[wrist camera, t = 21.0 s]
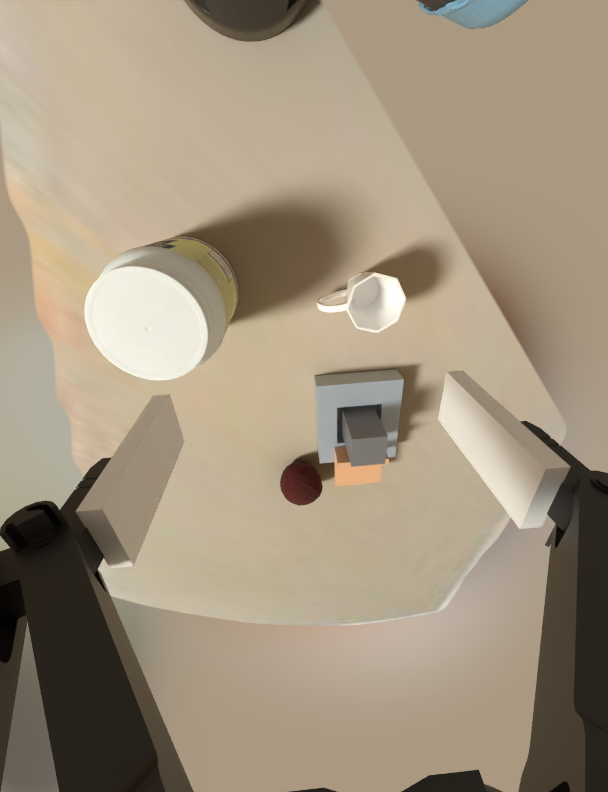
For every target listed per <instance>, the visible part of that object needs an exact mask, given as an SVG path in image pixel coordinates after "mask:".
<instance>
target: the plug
mask: <svg viewBox="0 0 608 792" xmlns="http://www.w3.org/2000/svg"><path fill="white" fill-rule="evenodd" d="M342 436H343V439H344V443H345V446H346V450H347V454H348V457H349V461H350V465H351V467H355V466H366V465H377V464H385V461H386V450H387V440H388V436H387V434H386V432H385V429H384V427H383V425H382V423H381V421H380V419H379V417H378V415H377V412H376V410H375V408H374V406H363V407H354V406H352V407H345V408H342Z"/></svg>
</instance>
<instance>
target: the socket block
mask: <svg viewBox="0 0 608 792" xmlns="http://www.w3.org/2000/svg"><path fill="white" fill-rule="evenodd" d="M314 380H315V402H316V424H317V446H318V455H319V462H320V463H332V462H334V448H336V447H346V446H345V443H344V439H343V436H342V408H345V407H352V406H354V407H363V406H374V408H375V410H376V412H377V415H378V417H379V419H380V421H381V423H382V425H383V427H384V429H385V432H386V434H387V436H388V440H387V450H386V453H387V456H388V457H395V454H396V445H397V437H398V428H399V419H400V410H401V401H402V392H403V383H404V379H403V377H402V376H401V375H400V373H399V372H398V370H397V369H392V370H380V371H368V372H355V373H343V374H330V375H318V376H314Z"/></svg>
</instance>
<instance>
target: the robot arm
mask: <svg viewBox="0 0 608 792" xmlns="http://www.w3.org/2000/svg"><path fill="white" fill-rule="evenodd" d="M184 1H185V2H186V4H187V5H188V6H189V7H190V9H191V10H192V11H193V12H194V13H195V14H196V15H197V16H198V17H199V18H200V19H201V20H202V21H203V22H204V23H205V24H207V25H208V26H209V27H211V28H212V29H213V30H215V31H217V32H218V33H220V34H222V35H224V36H227V37H229V38H232V39H235V40H240V41H260V40H264V39H267V38H270V37H273V36H275V35H277V34H278V33H280V32H282V31H283V30H285V29H286V28H287V27H288V26H289V25H291V24H292V23H293V22H294V21H295V20H296V18H297V17H298V16H299V15H300V14H301V12H302V11H303V9H304V8H305V6H306V5H307V3H308V1H309V0H184ZM417 1H418V2H419V6H420V8H421V9H422V10H423V11H424V12H426V13H427V14H429V15H436V16H440V15H442V16H444V17H445V18H447V19H449V20H451V21H453V22H455V23H457V24H459V25H461V26H463V27H466V28H469V29H475V28H485V27H489V26H492V25H494V24H496V23H498V22H500V21H502V20H503V19H505V18H506V17H508V16H509V15H511V14H512V13H514V12H515V11H516V10H517V9H519V8H520V7H521V6H522V5H523V4H525V3H526V2H527V1H528V0H417ZM438 420H439V421H440V423H441V424H442V425H443V427H444V428H445V429H446V431H447V432H448V433H449V435H450V436H451V437H452V439H453V440H454V441H455V443H456V444H457V445H458V447H459V448H460V449H461V451H462V452H463V454H464V455H465V456H466V458H467V459H468V460H469V462H470V463H471V464H472V466H473V467H474V468H475V470H476V471H477V472H478V474H479V475H480V476H481V478H482V479H483V480H484V482H485V483H486V484H487V486H488V487H489V488H490V490H491V491H492V492H493V494H494V495H495V496H496V498H497V499H498V500H499V502H500V503H501V504H502V506H503V507H504V508H505V510H506V511H507V512H508V514H509V515H510V516H511V518H512V519H513V520H514V522H515V523H516V524H517V526H518V527H519V528H520V529H524V528H535V527H542V525H543V523H544V521H545V519H546V516H547V515H549V517H550V518H551V519H552V520H553V521H554V522H555V523H556V525H555V527H554V529H553V531H552V532H551V534H550V536H549V538H548V540H547V542H546V544H545V545H546V546H548V547H549V546H550V544H551V548H550V558H549V568H548V577H547V586H546V596H545V606H544V616H543V625H542V636H541V644H540V655H539V664H538V673H537V683H536V693H535V702H534V713H533V722H532V731H531V741H530V749H529V755H528V759H527V762H526V765H525V768H524V770H523V773H522V778H521V782H520V787H519V792H608V473H604V472H600V471H590V470H589V469H588V468H586V467H585V466H584V465H583V464H582V463H581V462H580V461H578V460H577V459H576V458H575V457H574V456H572V455H571V454H570V453H569V452H568V451H567V450H565V449H564V448H563V447H562V446H559V444H558V443H557V442H556V441H555V440H554V439H551V438H550V436H549V435H548V434H546V433H545V432H544V431H543V430H542V429H541V428H539V427H537V426H535V425H533V424H531V423H529V422H527V421H521V422H520V421H519V420H518V419H516V418H515V417H514V416H513V415H512V414H511V413H510V412H509V411H507V410H506V409H505V408H504V407H503V406H502V405H501V404H500V403H498V402H497V401H496V400H495V399H494V398H493V397H492V396H491V395H490V394H488V393H487V392H486V391H485V390H484V389H483V388H482V387H481V386H479V385H478V384H477V383H476V382H475V381H474V380H473V379H472V378H470V377H469V376H468V375H467V374H466V373H465V372H464V371H452V372H447V374H446V379H445V385H444V390H443V396H442V401H441V406H440V412H439V417H438ZM183 443H184V438H183V435H182V432H181V429H180V425H179V422H178V419H177V416H176V413H175V409H174V406H173V403H172V400H171V397H170V394H169V395H157V396H153V397H152V398H151V400H150V401H149V403H148V404H147V406H146V407H145V409H144V410H143V412H142V413H141V415H140V416H139V418H138V419H137V421H136V422H135V424H134V425H133V427H132V428H131V430H130V431H129V433H128V434H127V436H126V437H125V439H124V440H123V442H122V443H121V445H120V446H119V448H118V449H117V451H116V452H115V454H114V455H113V457H112V458H102V459H101V460H100V461H99V462H97V463H96V464H95V465H94V466H92V467H91V468H90V469H89V471H88V472H87V473H86V475H85V476H84V478H83V481H81V482H80V483H79V484H78V486H77V487H76V490H74V491H73V493H72V494H71V495H70V497H69V498H68V500H67V501H66V502H65V504H64V505H63V506H62V508H61V509H60V510H59V509H58V507H57V506H56V505H55V504H54V503H53V502H51V501H41V502H36V503H33V504H30V505H28V506H26V507H24V508H22V509H20V510H19V511H17V512H15V513H14V514H13V515H12V516H11V517H9V518H8V519H7V520H6V521H5V522H4V524H3V525H2V527H1V529H0V536H1V537H2V538H3V539H4V541H5V542H6V543H7V544H8V545H9V547H10V548H9V549H6V550H3V551H0V791H1V784H2V778H3V772H4V765H5V759H6V753H7V746H8V740H9V733H10V727H11V721H12V714H13V708H14V702H15V695H16V689H17V682H18V676H19V670H20V663H21V657H22V651H23V644H24V638H25V632H26V625H27V620H28V626H29V631H30V636H31V641H32V647H33V652H34V658H35V663H36V669H37V674H38V679H39V685H40V690H41V695H42V700H43V706H44V711H45V717H46V722H47V727H48V733H49V738H50V743H51V749H52V754H53V760H54V765H55V770H56V776H57V781H58V787H59V792H194V791H193V790H192V787H191V785H190V783H189V780H188V778H187V775H186V773H185V771H184V769H183V767H182V764H181V761H180V759H179V757H178V754H177V752H176V750H175V747H174V745H173V742H172V740H171V738H170V736H169V733H168V731H167V728H166V726H165V724H164V722H163V719H162V717H161V714H160V712H159V710H158V707H157V705H156V702H155V700H154V698H153V695H152V693H151V691H150V688H149V686H148V684H147V681H146V679H145V677H144V674H143V672H142V669H141V667H140V665H139V663H138V660H137V658H136V655H135V653H134V651H133V649H132V646H131V644H130V641H129V639H128V636H127V634H126V632H125V629H124V627H123V625H122V622H121V620H120V618H119V615H118V613H117V611H116V608H115V606H114V604H113V601H112V599H111V596H110V594H109V592H108V589H107V587H106V585H105V582H104V580H103V578H102V575H101V573H100V572H99V570H98V568H99V566H100V564H101V562H102V560H103V558H104V559H105V561H106V562H107V564H108V565H109V567H110V568H116V567H126V566H134V563H135V561H136V558H137V556H138V553H139V551H140V549H141V546H142V544H143V541H144V539H145V536H146V534H147V531H148V529H149V526H150V524H151V522H152V519H153V517H154V514H155V512H156V509H157V507H158V504H159V502H160V500H161V497H162V495H163V492H164V490H165V487H166V485H167V482H168V480H169V478H170V475H171V473H172V470H173V468H174V465H175V463H176V460H177V458H178V455H179V453H180V451H181V448H182V446H183ZM291 792H336V791H332V790H329V789H326V788H318V789H309V790H300V791H291ZM402 792H502V791H500V790H498V789H496V788H493V787H491V786H489V785H485V784H484V783H483V780H482V778H481V775H480V772H479V770H473V771H464V772H456V773H447V774H438V775H429V776H427V777H426V778H424V779H422V780H421V781H419V782H417V783H416V784H414V785H412V786H410V787H409V788H407V789H405V790H404V791H402Z"/></svg>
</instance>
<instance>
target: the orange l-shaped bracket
mask: <svg viewBox="0 0 608 792" xmlns="http://www.w3.org/2000/svg"><path fill="white" fill-rule="evenodd" d="M388 463H389V458H388V456H387V453H386V461H385V464H377V465H366V466H355V467H351V465H350V461H349V457H348V454H347V450H346V447H336V448H334V466H335V486H341V485H352V484H363V483H374V482H380V481H381V470H382V465H388Z"/></svg>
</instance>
